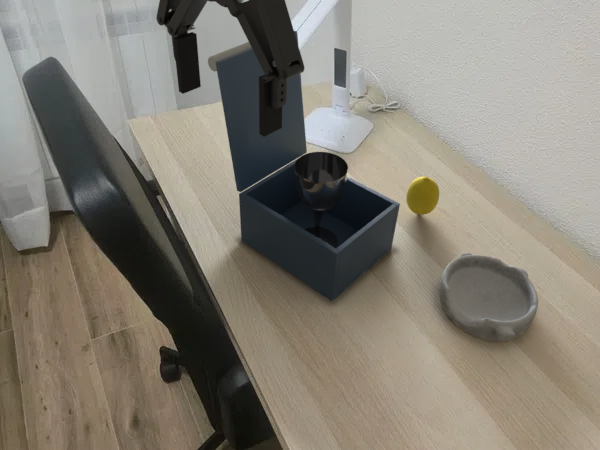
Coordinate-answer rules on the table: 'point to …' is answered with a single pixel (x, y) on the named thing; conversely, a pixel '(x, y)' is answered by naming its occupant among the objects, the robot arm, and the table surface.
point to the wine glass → (320, 187)
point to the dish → (488, 297)
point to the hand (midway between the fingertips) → (228, 109)
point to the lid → (256, 117)
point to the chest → (340, 220)
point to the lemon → (422, 195)
